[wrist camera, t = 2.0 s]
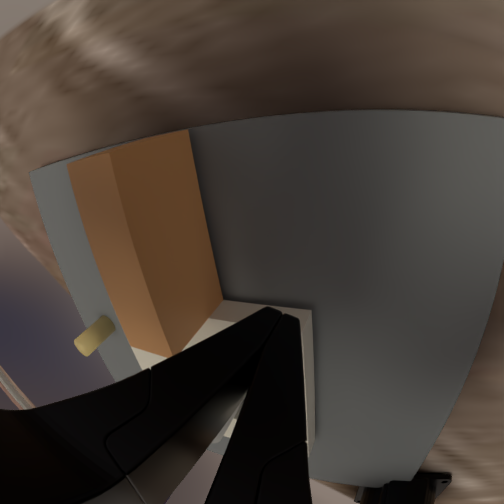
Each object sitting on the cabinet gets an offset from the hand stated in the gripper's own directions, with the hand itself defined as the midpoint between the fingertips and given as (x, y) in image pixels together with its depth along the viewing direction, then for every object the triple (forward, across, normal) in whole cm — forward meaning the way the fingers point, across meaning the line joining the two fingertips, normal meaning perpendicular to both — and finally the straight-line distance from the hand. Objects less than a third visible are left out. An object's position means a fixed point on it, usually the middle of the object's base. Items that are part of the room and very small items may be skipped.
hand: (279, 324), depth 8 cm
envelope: (+5, +69, +84) cm, 109 cm away
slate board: (+4, +2, +8) cm, 9 cm away
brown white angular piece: (+3, +3, +5) cm, 6 cm away
